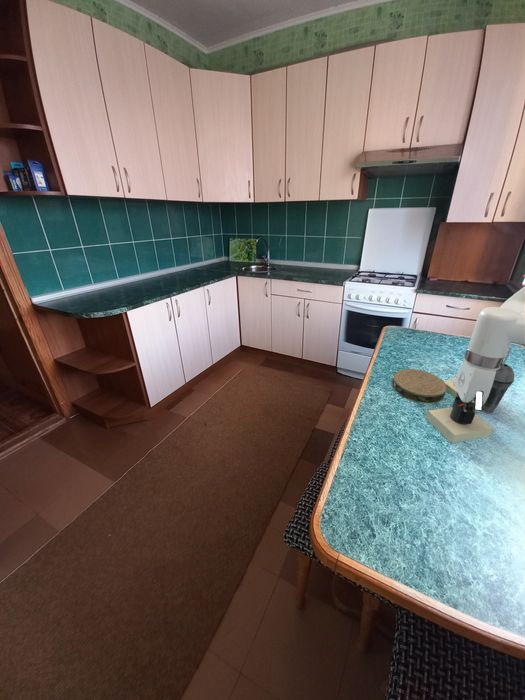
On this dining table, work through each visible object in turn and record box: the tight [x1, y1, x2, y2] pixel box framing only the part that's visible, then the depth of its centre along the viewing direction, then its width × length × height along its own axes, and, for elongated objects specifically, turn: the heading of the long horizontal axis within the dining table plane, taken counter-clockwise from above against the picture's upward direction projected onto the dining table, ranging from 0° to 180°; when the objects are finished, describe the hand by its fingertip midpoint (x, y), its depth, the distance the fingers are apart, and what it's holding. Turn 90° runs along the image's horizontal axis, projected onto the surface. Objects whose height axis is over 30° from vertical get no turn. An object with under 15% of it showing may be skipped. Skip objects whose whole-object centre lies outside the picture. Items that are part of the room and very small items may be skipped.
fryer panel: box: [425, 406, 495, 444], centre depth 81 cm, size 12×10×3 cm
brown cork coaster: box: [391, 368, 447, 404], centre depth 97 cm, size 16×16×3 cm
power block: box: [443, 375, 458, 399], centre depth 96 cm, size 10×8×4 cm
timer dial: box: [450, 399, 474, 425], centre depth 79 cm, size 5×5×5 cm
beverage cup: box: [481, 348, 515, 414], centre depth 84 cm, size 7×7×20 cm
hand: (461, 415), depth 79 cm, fingers closed on timer dial, 4 cm apart
